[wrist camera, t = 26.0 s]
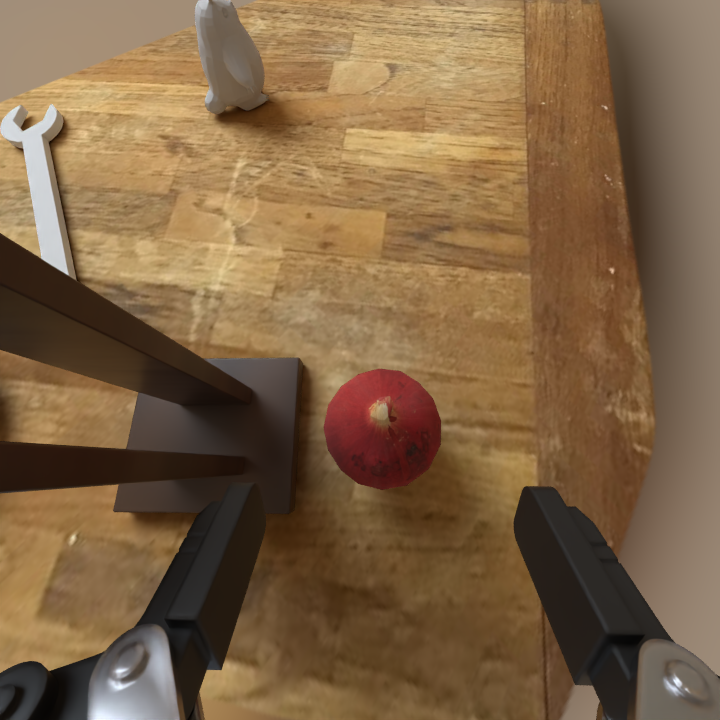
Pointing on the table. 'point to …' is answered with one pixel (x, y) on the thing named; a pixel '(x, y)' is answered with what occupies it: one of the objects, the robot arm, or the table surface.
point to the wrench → (42, 183)
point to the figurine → (228, 58)
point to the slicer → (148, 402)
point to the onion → (383, 429)
